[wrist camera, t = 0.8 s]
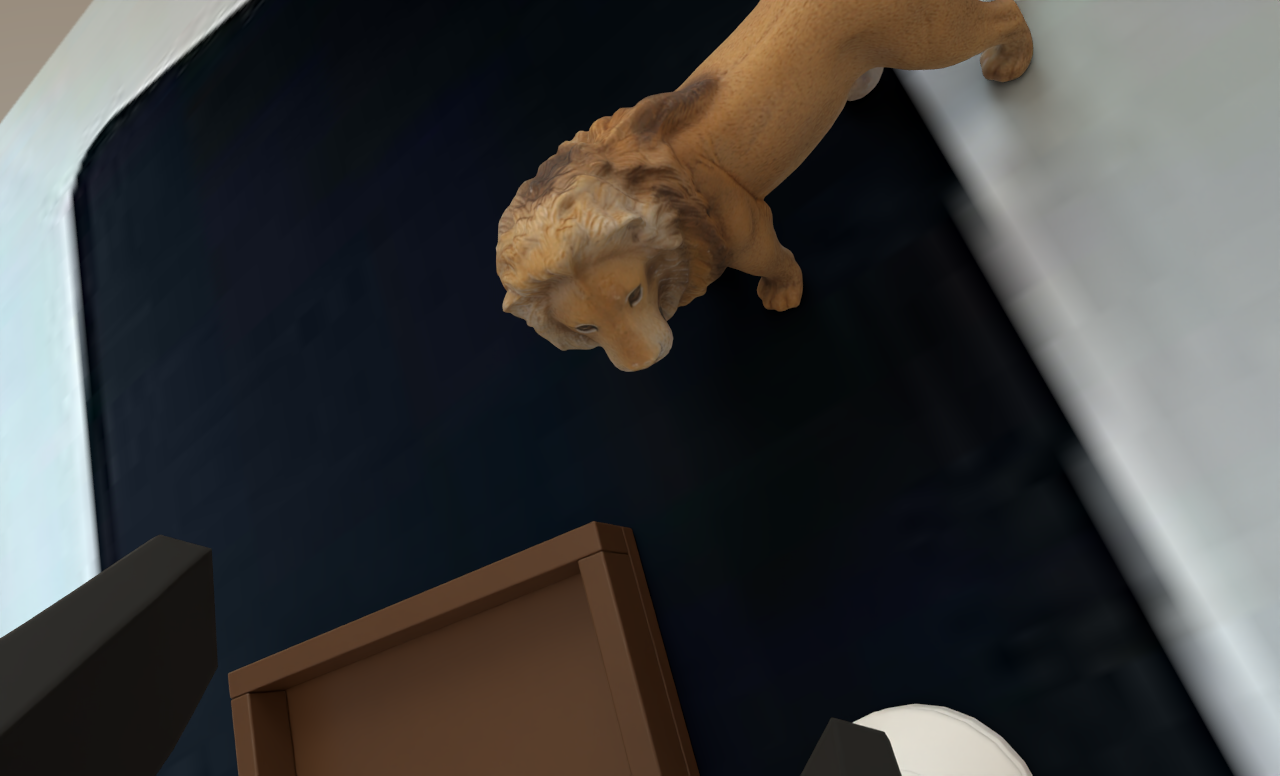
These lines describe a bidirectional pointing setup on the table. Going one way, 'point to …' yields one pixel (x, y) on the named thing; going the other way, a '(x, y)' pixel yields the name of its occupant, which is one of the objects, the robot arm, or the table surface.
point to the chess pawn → (944, 743)
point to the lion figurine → (716, 167)
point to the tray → (480, 678)
